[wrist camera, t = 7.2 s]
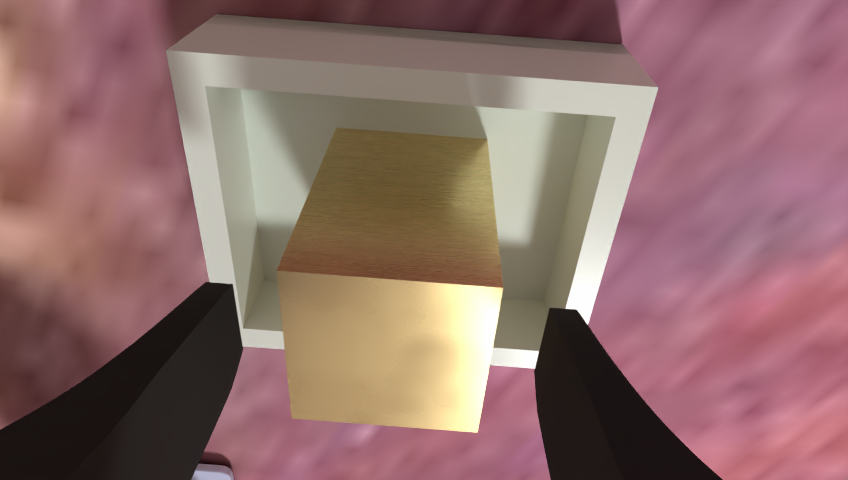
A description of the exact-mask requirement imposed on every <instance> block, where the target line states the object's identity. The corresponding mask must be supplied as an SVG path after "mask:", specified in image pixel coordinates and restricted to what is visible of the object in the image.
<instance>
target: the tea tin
mask: <svg viewBox="0 0 848 480" xmlns="http://www.w3.org/2000/svg"><path fill="white" fill-rule="evenodd" d="M276 271H277V281H278V290H279V300H280V310H281V319H282V329H283V339H284V348H285V358H286V367H287V377H288V387H289V396H290V406H291V415H292V418H295V419H308V420H321V421H334V422H347V423H360V424H373V425H386V426H399V427H412V428H425V429H438V430H451V431H464V432H477V433H478V427H479V422H480V416H481V410H482V405H483V399H484V394H485V388H486V382H487V377H488V371H489V366H490V360H491V354H492V349H493V343H494V337H495V332H496V326H497V321H498V315H499V309H500V304H501V298H502V293H503V280H502V271H501V261H500V252H499V243H498V233H497V224H496V215H495V205H494V196H493V187H492V178H491V168H490V159H489V150H488V140H487V139H481V138H468V137H455V136H441V135H428V134H415V133H402V132H389V131H375V130H362V129H349V128H336V129H335V132H334V134H333V137H332V139H331V141H330V144H329V146H328V149H327V151H326V153H325V156H324V158H323V161H322V163H321V165H320V168H319V170H318V173H317V175H316V177H315V180H314V182H313V184H312V187H311V189H310V192H309V194H308V196H307V199H306V201H305V204H304V206H303V208H302V211H301V213H300V216H299V218H298V220H297V223H296V225H295V227H294V230H293V232H292V235H291V237H290V239H289V242H288V244H287V247H286V249H285V251H284V254H283V256H282V259H281V261H280V263H279V266H278V268H277V270H276Z"/></svg>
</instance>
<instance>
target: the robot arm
mask: <svg viewBox="0 0 848 480" xmlns="http://www.w3.org/2000/svg"><path fill="white" fill-rule="evenodd" d="M242 351H243V346H242V339H241V333H240V327H239V320H238V314H237V308H236V301H235V295H234V289H233V284H226V283H213V282H206V283H204V284H203V285H202V286H201V287H200V288H198V289H197V290H196V291H195V292H193V293H192V294H191V295H190V296H189V297H188V298H186V299H185V300H184V301H183V302H182V303H181V304H180V305H178V306H177V307H176V308H175V309H174V310H173V311H171V312H170V313H169V314H168V315H167V316H166V317H164V318H163V319H162V320H161V321H160V322H159V323H157V324H156V325H155V326H154V327H153V328H151V329H150V330H149V331H148V332H147V333H145V334H144V335H143V336H142V337H140V338H139V339H138V340H137V341H136V342H134V343H133V344H132V345H131V346H129V347H128V348H127V349H125V350H124V351H123V352H121V353H120V354H119V355H117V356H116V357H115V358H113V359H112V360H111V361H109V362H108V363H107V364H106V365H104V366H103V367H102V368H100V369H99V370H97V371H96V372H95V373H93V374H92V375H90V376H89V377H87V378H86V379H84V380H83V381H82V382H80V383H79V384H77V385H76V386H74V387H72V388H71V389H69V390H68V391H66V392H65V393H63V394H61V395H60V396H58V397H57V398H55V399H54V400H52V401H50V402H49V403H47V404H45V405H44V406H42V407H40V408H38V409H37V410H35V411H33V412H31V413H30V414H28V415H26V416H24V417H22V418H21V419H19V420H17V421H15V422H14V423H12V424H10V425H8V426H6V427H5V428H3V429H1V430H0V480H234V477H233V472H232V471H231V469H230V468H228V467H226V466H222V465H211V464H198V463H199V461H200V459H201V457H202V454H203V452H204V450H205V448H206V446H207V443H208V441H209V439H210V437H211V434H212V432H213V430H214V428H215V425H216V423H217V421H218V419H219V416H220V414H221V412H222V410H223V407H224V405H225V403H226V400H227V398H228V396H229V393H230V391H231V389H232V385H233V382H234V379H235V376H236V372H237V369H238V365H239V362H240V358H241V355H242ZM534 373H535V388H536V401H537V412H538V418H539V423H540V428H541V433H542V438H543V443H544V448H545V453H546V458H547V463H548V468H549V473H550V478H551V480H722V479H721V478H720V477H719V476H718V475H717V474H716V473H714V472H713V471H712V470H711V469H710V468H709V467H708V466H707V465H705V464H704V463H703V462H702V461H701V460H700V459H699V458H698V457H697V456H696V455H695V454H694V453H693V452H692V451H690V450H689V449H688V448H687V447H686V446H685V444H684V443H683V442H682V441H681V440H680V439H679V438H678V437H677V436H676V435H675V434H674V433H673V432H672V431H671V430H670V429H669V428H668V427H667V426H666V425H665V424H664V423H663V422H662V421H661V420H660V419H659V417H658V416H657V415H656V414H655V413H654V412H653V411H652V409H651V408H650V407H649V406H648V405H647V404H646V402H645V401H644V400H643V399H642V398H641V396H640V395H639V394H638V393H637V392H636V390H635V389H634V388H633V387H632V385H631V384H630V383H629V381H628V380H627V379H626V378H625V376H624V375H623V374H622V372H621V371H620V370H619V368H618V367H617V366H616V365H615V363H614V362H613V360H612V359H611V358H610V356H609V355H608V354H607V352H606V351H605V349H604V348H603V347H602V345H601V344H600V342H599V341H598V339H597V338H596V337H595V335H594V334H593V332H592V331H591V329H590V328H589V326H588V325H587V323H586V322H585V320H584V319H583V317H582V316H581V314H580V313H579V312H578V311H577V310H576V309H563V308H549V312H548V316H547V320H546V325H545V329H544V333H543V337H542V341H541V345H540V350H539V354H538V358H537V362H536V366H535V370H534Z"/></svg>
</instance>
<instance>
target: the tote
mask: <svg viewBox="0 0 848 480" xmlns="http://www.w3.org/2000/svg"><path fill="white" fill-rule="evenodd" d="M166 53H167V59H168V64H169V69H170V75H171V80H172V85H173V91H174V96H175V101H176V106H177V112H178V117H179V122H180V128H181V133H182V138H183V144H184V149H185V154H186V159H187V165H188V170H189V175H190V181H191V186H192V191H193V197H194V202H195V207H196V212H197V218H198V223H199V228H200V234H201V239H202V244H203V250H204V255H205V260H206V265H207V271H208V276H209V281H210V282H213V283H226V284H233V289H234V295H235V301H236V308H237V314H238V320H239V327H240V333H241V339H242V346H246V347H259V348H272V349H285V348H284V339H283V329H282V319H281V310H280V300H279V290H278V281H277V271H276V270H277V268H278V266H279V263H280V261H281V259H282V256H283V254H284V251H285V249H286V247H287V244H288V242H289V239H290V237H291V235H292V232H293V230H294V227H295V225H296V223H297V220H298V218H299V216H300V213H301V211H302V208H303V206H304V204H305V201H306V199H307V196H308V194H309V192H310V189H311V187H312V184H313V182H314V180H315V177H316V175H317V173H318V170H319V168H320V165H321V163H322V161H323V158H324V156H325V153H326V151H327V149H328V146H329V144H330V141H331V139H332V137H333V134H334V132H335V129H336V128H349V129H362V130H375V131H389V132H402V133H415V134H428V135H441V136H455V137H468V138H481V139H487V140H488V150H489V159H490V168H491V178H492V187H493V196H494V205H495V215H496V224H497V233H498V243H499V252H500V261H501V271H502V280H503V293H502V298H501V304H500V309H499V315H498V321H497V326H496V332H495V337H494V343H493V349H492V354H491V360H490V365H495V366H508V367H521V368H534V369H535V366H536V362H537V358H538V354H539V350H540V345H541V341H542V337H543V333H544V329H545V325H546V320H547V316H548V312H549V308H563V309H576V310H577V311H578V312H579V313H580V314H581V316H582V317H583V319H584V320H585V322H586V323H587V325H588V322H589V319H590V316H591V312H592V309H593V305H594V302H595V299H596V295H597V292H598V289H599V285H600V282H601V279H602V275H603V272H604V269H605V265H606V262H607V258H608V255H609V252H610V248H611V245H612V242H613V238H614V235H615V232H616V228H617V225H618V222H619V218H620V215H621V211H622V208H623V205H624V201H625V198H626V195H627V191H628V188H629V185H630V181H631V178H632V175H633V171H634V168H635V164H636V161H637V158H638V154H639V151H640V148H641V144H642V141H643V138H644V134H645V131H646V128H647V124H648V121H649V117H650V114H651V111H652V107H653V104H654V101H655V97H656V94H657V91H658V86H657V85H656V84H655V83H654V81H653V80H652V79H651V78H650V76H649V75H648V74H647V73H646V72H645V70H644V69H643V68H642V67H641V66H640V64H639V63H638V62H637V61H636V60H635V58H634V57H633V56H632V55H631V54H630V52H629V51H628V50H627V49H626V48H625V46H624V45H622V44H609V43H596V42H582V41H569V40H556V39H542V38H529V37H516V36H502V35H489V34H476V33H462V32H449V31H436V30H422V29H409V28H396V27H382V26H369V25H356V24H342V23H329V22H316V21H303V20H289V19H276V18H263V17H249V16H236V15H223V14H216V15H214V16H213V17H212V18H210V19H209V20H207V21H206V22H205V23H203V24H202V25H200V26H199V27H198V28H196V29H195V30H193V31H192V32H191V33H189V34H188V35H186V36H185V37H184V38H182V39H181V40H180V41H178V42H177V43H175V44H174V45H173V46H171V47H170V48H168V49H167V50H166Z"/></svg>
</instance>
